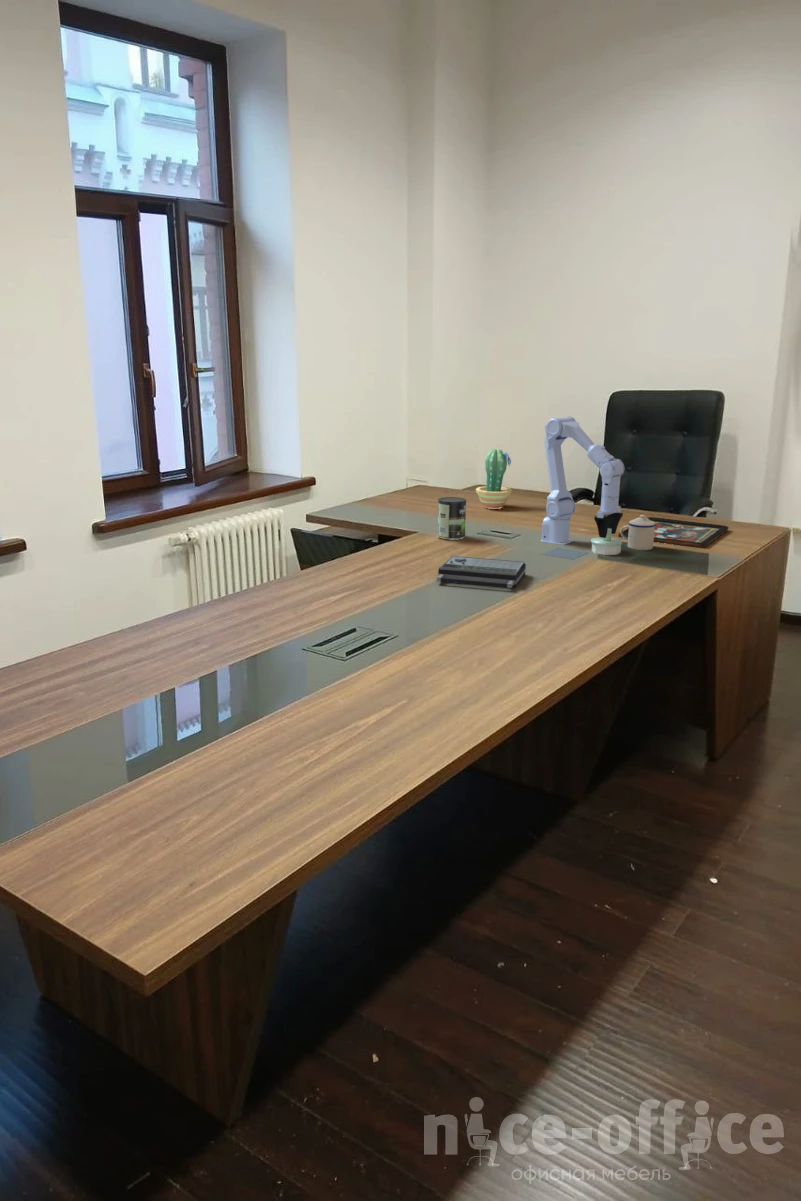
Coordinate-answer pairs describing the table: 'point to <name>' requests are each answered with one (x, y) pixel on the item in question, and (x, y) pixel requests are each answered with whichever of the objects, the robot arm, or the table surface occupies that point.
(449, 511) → the coffee can
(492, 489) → the potted cactus
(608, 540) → the lid
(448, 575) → the radio
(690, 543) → the framed painting
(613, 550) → the bowl
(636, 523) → the teacup with lid
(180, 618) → the table surface
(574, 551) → the mat
